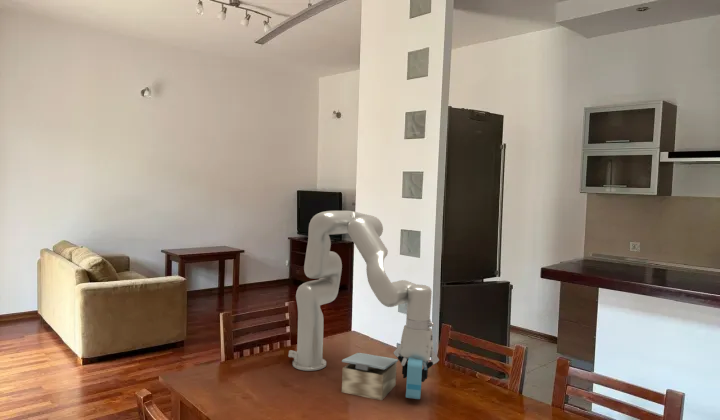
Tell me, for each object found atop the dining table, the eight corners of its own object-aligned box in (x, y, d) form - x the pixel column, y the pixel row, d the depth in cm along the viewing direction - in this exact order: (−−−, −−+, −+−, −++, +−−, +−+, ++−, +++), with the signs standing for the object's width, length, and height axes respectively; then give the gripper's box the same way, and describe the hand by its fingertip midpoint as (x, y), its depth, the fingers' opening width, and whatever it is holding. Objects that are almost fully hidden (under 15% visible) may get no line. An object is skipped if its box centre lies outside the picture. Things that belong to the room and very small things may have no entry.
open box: (341, 392, 167) (342, 368, 166) (358, 377, 179) (358, 355, 179) (381, 400, 161) (382, 375, 161) (395, 384, 174) (396, 362, 174)
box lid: (340, 365, 165) (340, 360, 165) (357, 357, 179) (358, 352, 180) (382, 373, 160) (383, 368, 160) (397, 364, 174) (398, 359, 174)
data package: (419, 401, 158) (422, 363, 158) (405, 399, 159) (407, 361, 158) (421, 385, 170) (423, 350, 169) (407, 384, 171) (409, 349, 170)
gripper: (446, 325, 163) (443, 379, 165) (396, 316, 170) (393, 369, 171) (441, 331, 157) (437, 388, 158) (388, 322, 163) (385, 377, 164)
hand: (414, 378), depth 164 cm, fingers closed on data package, 5 cm apart
